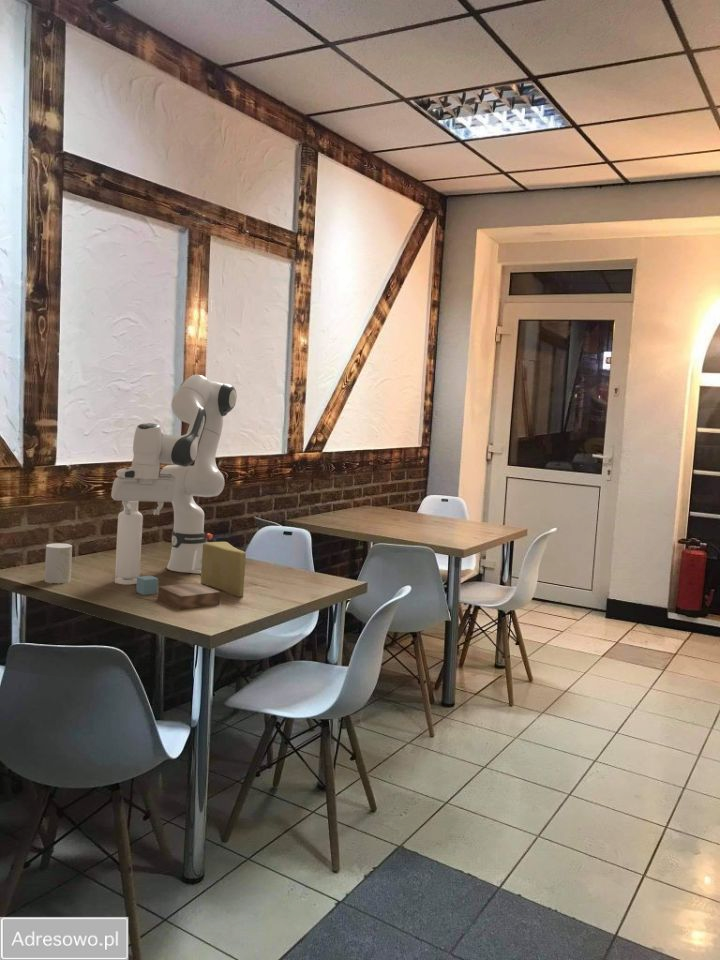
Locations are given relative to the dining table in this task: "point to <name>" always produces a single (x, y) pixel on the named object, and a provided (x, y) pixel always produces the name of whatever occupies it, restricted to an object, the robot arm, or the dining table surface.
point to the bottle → (128, 545)
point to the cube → (147, 585)
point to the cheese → (223, 567)
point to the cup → (58, 563)
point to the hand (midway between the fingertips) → (142, 514)
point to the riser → (188, 595)
